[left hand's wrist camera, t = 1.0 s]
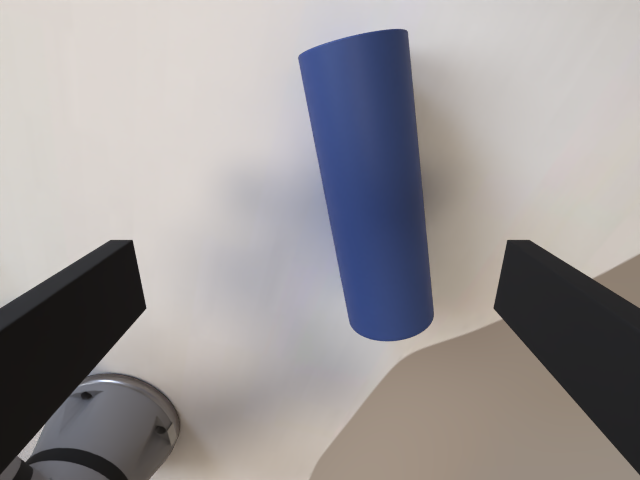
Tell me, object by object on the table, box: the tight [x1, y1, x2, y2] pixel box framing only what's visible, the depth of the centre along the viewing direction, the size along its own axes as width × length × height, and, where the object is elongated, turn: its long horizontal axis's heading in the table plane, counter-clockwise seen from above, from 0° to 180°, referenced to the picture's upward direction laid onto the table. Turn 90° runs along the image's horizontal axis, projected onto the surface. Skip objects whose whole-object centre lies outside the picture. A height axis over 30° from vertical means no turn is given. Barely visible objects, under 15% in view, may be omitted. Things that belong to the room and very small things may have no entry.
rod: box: [298, 29, 434, 341], centre depth 30 cm, size 24×8×8 cm, turn 11°
